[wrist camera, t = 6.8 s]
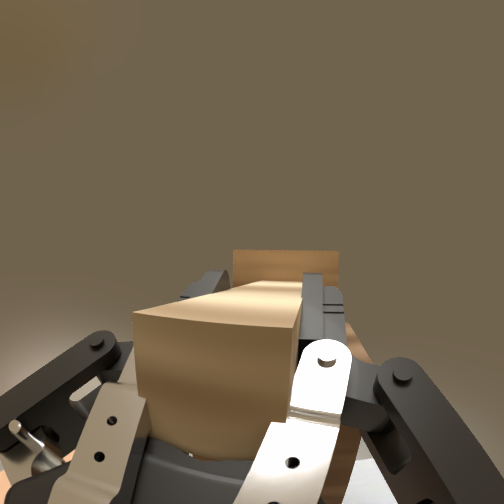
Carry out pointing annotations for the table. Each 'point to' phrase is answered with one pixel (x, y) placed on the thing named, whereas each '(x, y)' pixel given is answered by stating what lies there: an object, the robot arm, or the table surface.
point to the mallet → (227, 355)
